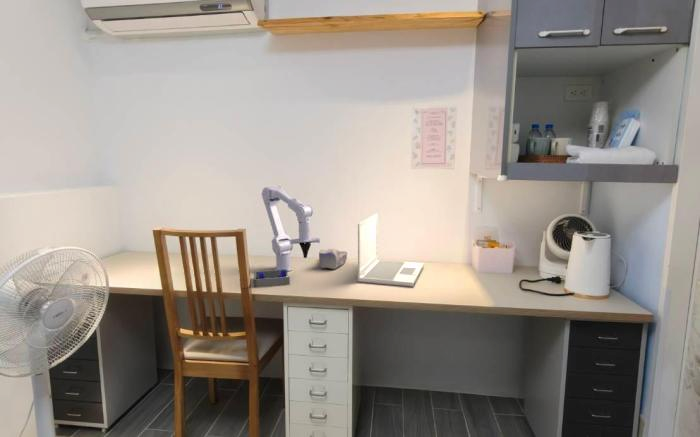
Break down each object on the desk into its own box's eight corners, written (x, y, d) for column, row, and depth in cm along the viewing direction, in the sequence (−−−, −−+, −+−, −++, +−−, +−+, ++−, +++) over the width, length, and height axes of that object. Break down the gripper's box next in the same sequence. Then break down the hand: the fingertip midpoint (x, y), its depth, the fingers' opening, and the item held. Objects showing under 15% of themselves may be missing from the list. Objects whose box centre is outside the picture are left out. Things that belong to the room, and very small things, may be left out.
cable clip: (284, 280, 192) (283, 268, 191) (286, 283, 187) (285, 271, 187) (258, 283, 187) (258, 271, 186) (260, 286, 183) (259, 273, 182)
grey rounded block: (316, 249, 207) (325, 242, 227) (316, 270, 209) (326, 261, 228) (340, 250, 205) (348, 243, 224) (341, 271, 206) (348, 262, 226)
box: (254, 278, 195) (253, 271, 194) (287, 275, 198) (287, 269, 198) (254, 287, 181) (253, 279, 181) (289, 284, 185) (289, 277, 184)
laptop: (413, 288, 180) (414, 226, 175) (357, 283, 188) (357, 223, 184) (423, 268, 212) (424, 215, 208) (375, 264, 221) (375, 213, 216)
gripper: (290, 232, 190) (291, 260, 192) (320, 231, 193) (321, 258, 195) (289, 230, 196) (290, 256, 198) (318, 228, 200) (318, 255, 202)
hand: (305, 257), depth 197 cm, fingers closed
